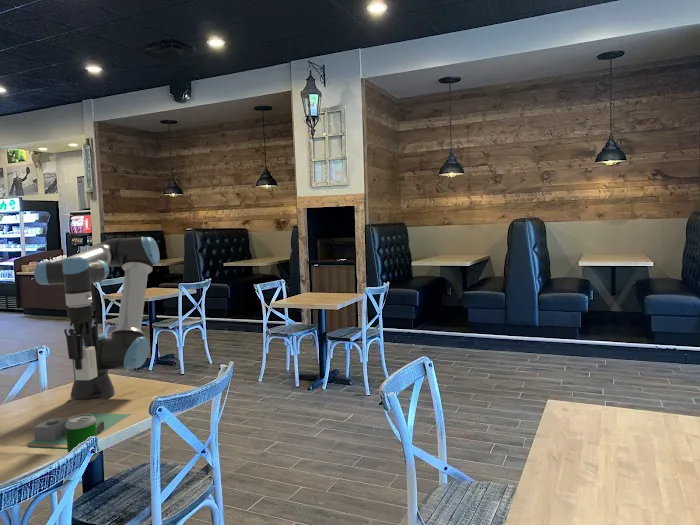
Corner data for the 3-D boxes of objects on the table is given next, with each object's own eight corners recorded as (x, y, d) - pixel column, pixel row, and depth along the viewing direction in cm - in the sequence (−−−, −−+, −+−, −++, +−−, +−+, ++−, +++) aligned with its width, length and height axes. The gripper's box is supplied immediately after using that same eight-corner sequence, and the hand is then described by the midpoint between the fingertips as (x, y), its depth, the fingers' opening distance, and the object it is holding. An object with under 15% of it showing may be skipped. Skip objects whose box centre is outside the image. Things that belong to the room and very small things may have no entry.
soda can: (86, 467, 141) (82, 423, 140) (62, 465, 142) (58, 422, 141) (105, 454, 148) (101, 413, 147) (81, 453, 149) (78, 412, 149)
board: (83, 417, 179) (81, 399, 178) (131, 418, 175) (129, 400, 175) (28, 447, 155) (26, 427, 155) (82, 449, 152) (80, 429, 151)
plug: (84, 376, 173) (81, 346, 172) (99, 376, 172) (96, 346, 171) (75, 380, 169) (72, 349, 168) (91, 380, 168) (88, 349, 167)
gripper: (71, 310, 159) (78, 385, 162) (107, 300, 176) (113, 368, 178) (49, 310, 161) (57, 384, 163) (87, 300, 177) (93, 368, 180)
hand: (86, 376), depth 171 cm, fingers closed on plug, 4 cm apart
